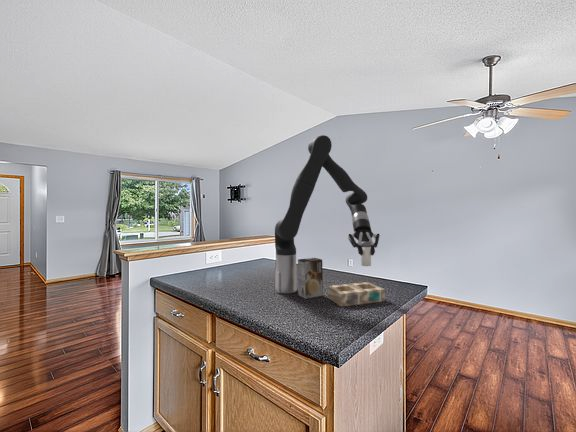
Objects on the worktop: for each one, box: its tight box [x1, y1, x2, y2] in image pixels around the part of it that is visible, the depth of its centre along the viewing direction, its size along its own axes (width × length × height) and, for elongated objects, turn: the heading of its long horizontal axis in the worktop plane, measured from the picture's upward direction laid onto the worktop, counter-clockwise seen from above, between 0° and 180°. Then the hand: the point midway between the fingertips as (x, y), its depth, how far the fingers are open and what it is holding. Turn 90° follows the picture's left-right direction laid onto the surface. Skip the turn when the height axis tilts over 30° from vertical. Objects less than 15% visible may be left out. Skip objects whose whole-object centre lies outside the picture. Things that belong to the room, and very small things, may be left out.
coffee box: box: [297, 257, 324, 299], centre depth 126 cm, size 9×6×16 cm
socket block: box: [327, 281, 386, 307], centre depth 120 cm, size 20×12×5 cm, turn 107°
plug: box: [360, 241, 372, 267], centre depth 122 cm, size 4×4×10 cm
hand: (367, 254), depth 120 cm, fingers closed on plug, 4 cm apart
